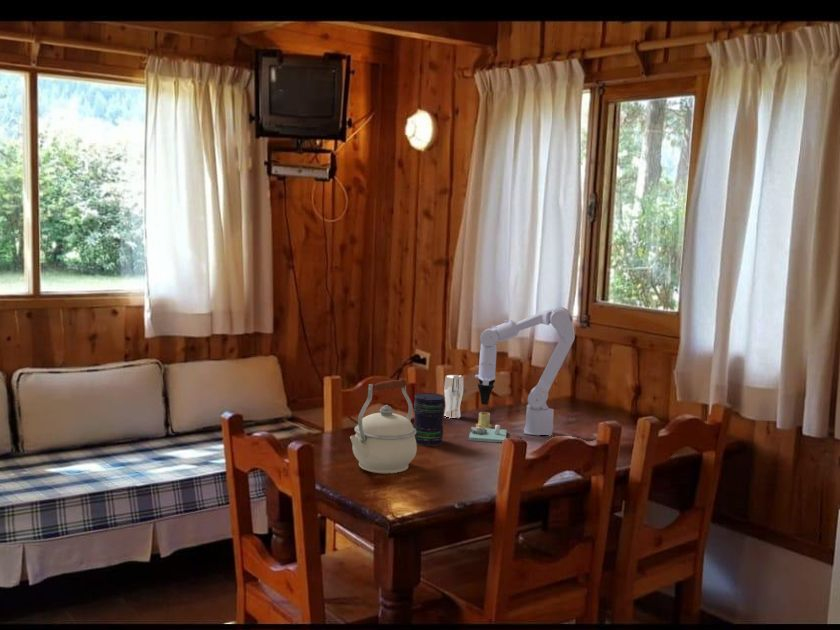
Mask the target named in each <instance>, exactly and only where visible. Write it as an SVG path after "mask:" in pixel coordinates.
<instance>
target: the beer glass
mask: <svg viewBox="0 0 840 630" xmlns="http://www.w3.org/2000/svg"><path fill="white" fill-rule="evenodd" d="M444 378H445V379H444V386H443V388H444V389H443V391H444V395H443V396H445V400H444V401H445V403H444V405H445V408H444V414H443V417H444V416H446V417H449V418H448V419H450V418H457V419H460V418H461V416H462V415H461V402H462V398H463V393H464V387H465V386H464V376H463V375H459V374H447V375H445V377H444ZM446 417H445V418H446Z"/></svg>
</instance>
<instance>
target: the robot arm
mask: <svg viewBox="0 0 840 630" xmlns="http://www.w3.org/2000/svg"><path fill="white" fill-rule="evenodd" d="M573 320H574V319H573V317H572V314H571V313H570V311H569V310H568V309H567V308H566V307H563V306H559V307H557V308H555V309H553V308H551V309H547V310H544V311H540V312H538V313H535V314H534V315H532V316H528V317H526V318H524V319H521V320H519V321H514V320H508V319H505V320H504V321H503V323H500V324H498V325H492V326H491V328H486V329H485V330H483V331H482V332H481V334H480V336H479V341H480V350H479V362H478V364H479V365H478V374H475V376H474V378H477V379H478V381H479V382H478V383H477V388H478V390H479V395H480V403H481V405H486V406H487V405H489V401H490V397H491V394H492V391H493V389H494V387H495V385H494V384H495V381H496V369H497V368H496V367H497V352H498V351H497V343H498V342H499V343H502V342H505V341H507V340H510V339H513V338H515V337H518V335H519V334H520V332H521V331H522V330H523V331H524V330H526V329H529V328H531V327H532V328H533V327H535V326H538V325H541V324H543V325H546V326H549V325H550V324H551V326H552V327H553V328H554V329H555V331H556V332H557V336H559V337H558V338H559V340H558V343H557V344H556V346H555V348H554V350H553V351H552V354H551V356H550V358H549V360H548V363H547V365H546V367H545V369H544V370H543V372H542V374H541V376H540V378H539V381H538V382H537V384H536V385H535V386H534V387H533V388H532V389H530V392H529V393H528V396H527V403H528V404H526V411H525V412H526V415H525V425H524V426H525V427H523V434H524V435H529V436H531V435H532V436H540V435H549V436H548V437H552V436H553V431H554V414H555V413H554V411H555V410H554V409H553V408H549V406H548V405H547V401H548V398H549V391H550V390H551V387H552V385H553V383H554V381H555V379H556V377H557V375H558V373H559V371H560V369H561V367H562V366H563V363H564V361H565V360H566V357H567V355H568V353H569V351H570V349H571V347H572V345H573V343H574V341H575V338H576V336H575V330H574V328H575V327H574V321H573ZM550 434H551V435H552V436H551V435H550Z"/></svg>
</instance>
